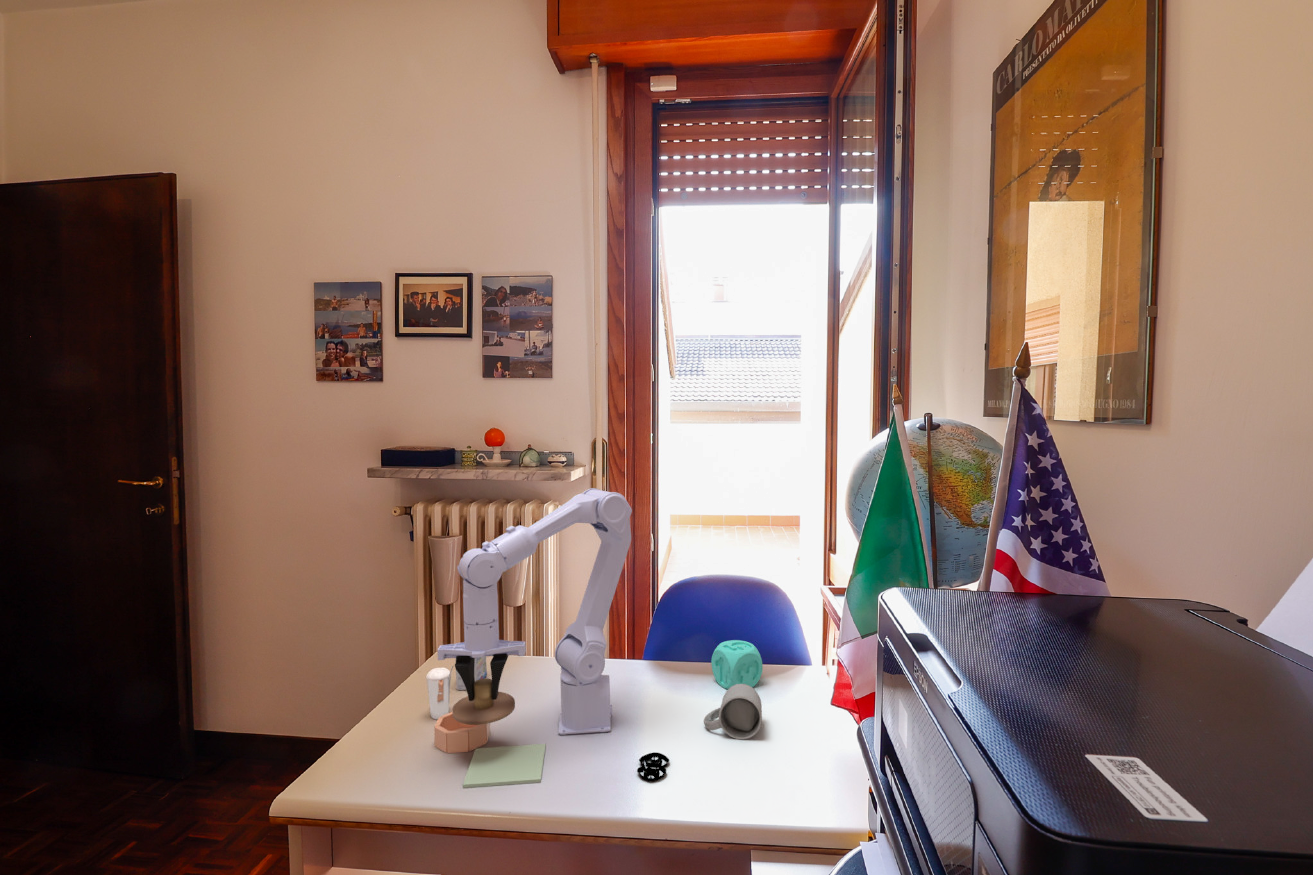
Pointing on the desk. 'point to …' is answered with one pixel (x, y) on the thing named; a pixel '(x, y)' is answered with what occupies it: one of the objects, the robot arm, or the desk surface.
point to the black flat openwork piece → (652, 766)
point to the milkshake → (439, 691)
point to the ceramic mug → (737, 713)
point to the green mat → (505, 765)
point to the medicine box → (479, 672)
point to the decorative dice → (736, 664)
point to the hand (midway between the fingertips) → (483, 697)
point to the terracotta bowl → (459, 735)
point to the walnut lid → (483, 705)
